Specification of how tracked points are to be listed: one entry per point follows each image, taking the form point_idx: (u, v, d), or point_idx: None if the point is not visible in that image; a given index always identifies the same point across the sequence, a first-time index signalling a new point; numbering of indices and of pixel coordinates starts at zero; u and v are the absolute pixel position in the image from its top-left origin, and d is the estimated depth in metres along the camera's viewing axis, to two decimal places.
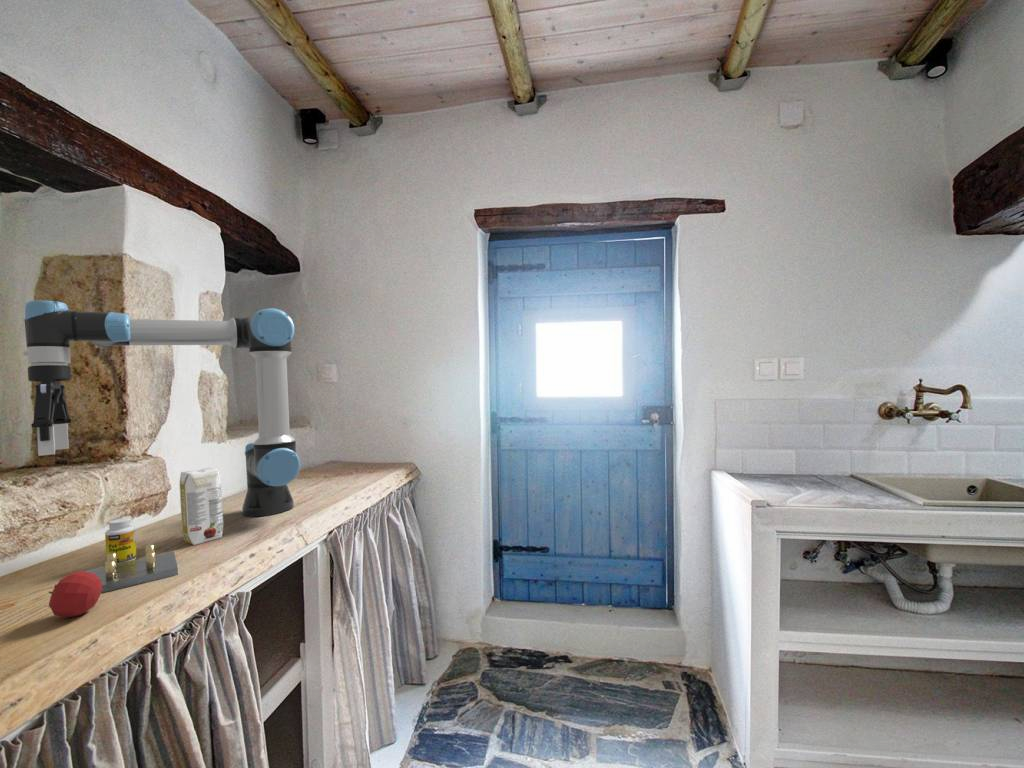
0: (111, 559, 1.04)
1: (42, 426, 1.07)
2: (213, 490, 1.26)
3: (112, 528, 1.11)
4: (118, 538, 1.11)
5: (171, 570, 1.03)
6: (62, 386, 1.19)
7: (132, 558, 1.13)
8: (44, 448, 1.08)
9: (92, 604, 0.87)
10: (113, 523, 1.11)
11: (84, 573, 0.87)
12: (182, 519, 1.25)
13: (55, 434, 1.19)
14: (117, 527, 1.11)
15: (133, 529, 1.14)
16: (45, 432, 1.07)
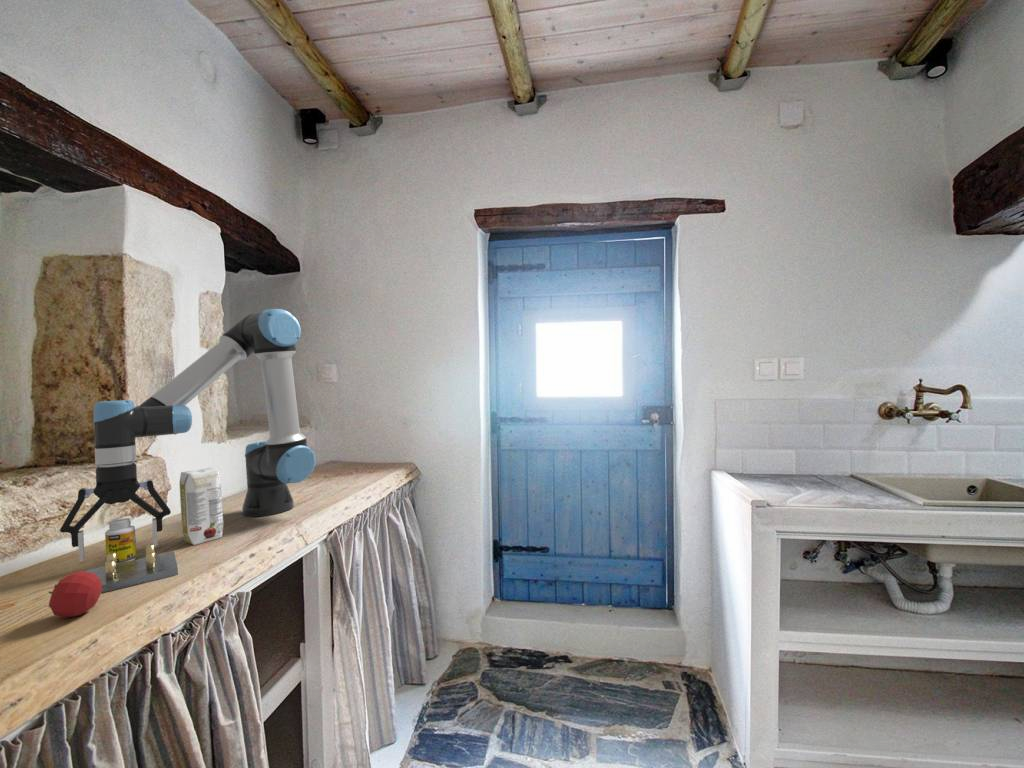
0: (111, 559, 1.04)
1: None
2: (213, 490, 1.26)
3: (112, 528, 1.11)
4: (118, 538, 1.11)
5: (171, 570, 1.03)
6: (147, 482, 1.16)
7: (132, 558, 1.13)
8: None
9: (92, 604, 0.87)
10: (113, 523, 1.11)
11: (84, 573, 0.87)
12: (182, 519, 1.25)
13: None
14: (117, 527, 1.11)
15: (133, 529, 1.14)
16: None
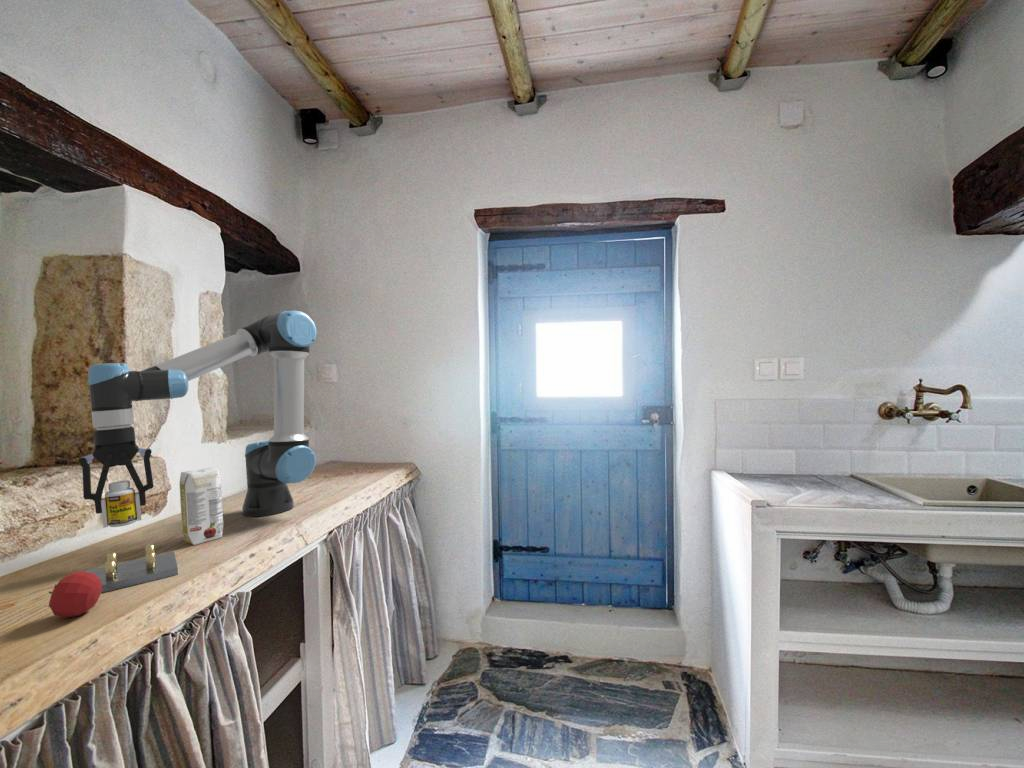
0: (111, 559, 1.04)
1: None
2: (213, 490, 1.26)
3: (112, 490, 1.11)
4: (118, 500, 1.11)
5: (171, 570, 1.03)
6: (147, 450, 1.16)
7: (133, 519, 1.13)
8: None
9: (92, 604, 0.87)
10: (112, 485, 1.11)
11: (84, 573, 0.87)
12: (182, 519, 1.25)
13: None
14: (117, 488, 1.11)
15: (133, 491, 1.14)
16: None
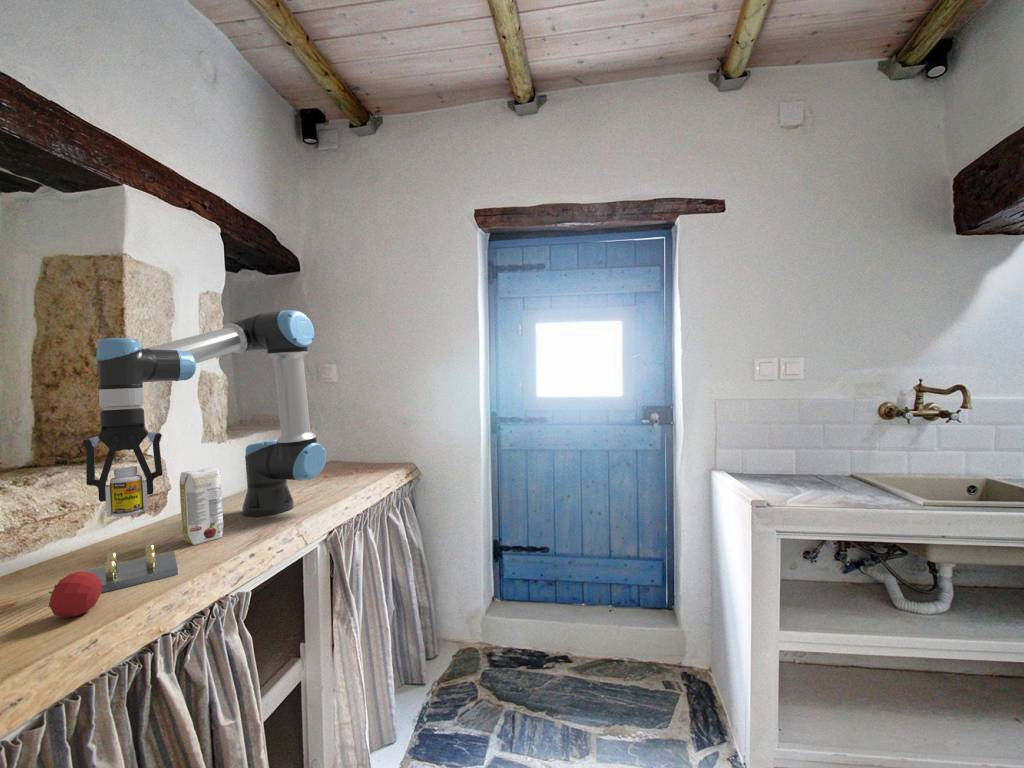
0: (111, 559, 1.04)
1: None
2: (213, 490, 1.26)
3: (117, 475, 1.02)
4: (124, 486, 1.02)
5: (171, 570, 1.03)
6: (156, 434, 1.07)
7: (139, 509, 1.04)
8: None
9: (92, 604, 0.87)
10: (118, 470, 1.02)
11: (84, 573, 0.87)
12: (182, 519, 1.25)
13: None
14: (123, 474, 1.02)
15: (140, 478, 1.05)
16: None
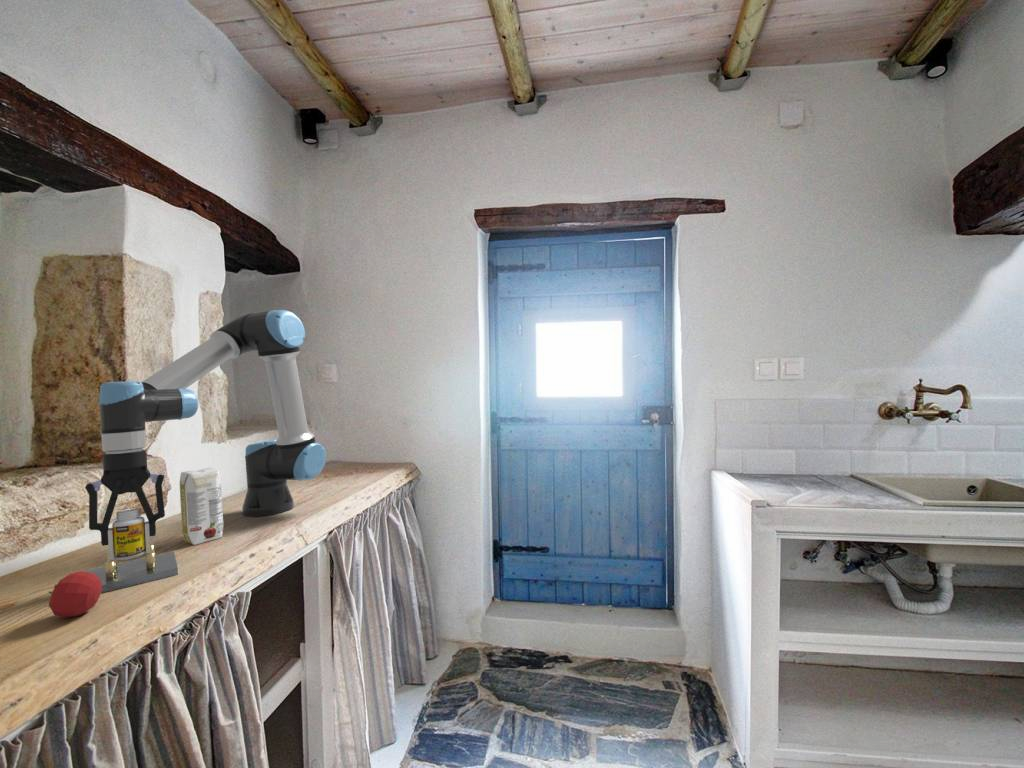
0: None
1: None
2: (213, 490, 1.26)
3: (120, 519, 1.02)
4: (126, 530, 1.02)
5: (171, 570, 1.03)
6: (159, 475, 1.07)
7: (142, 552, 1.04)
8: None
9: (92, 604, 0.87)
10: (121, 513, 1.02)
11: (84, 573, 0.87)
12: (182, 519, 1.25)
13: None
14: (125, 518, 1.02)
15: (142, 520, 1.05)
16: None
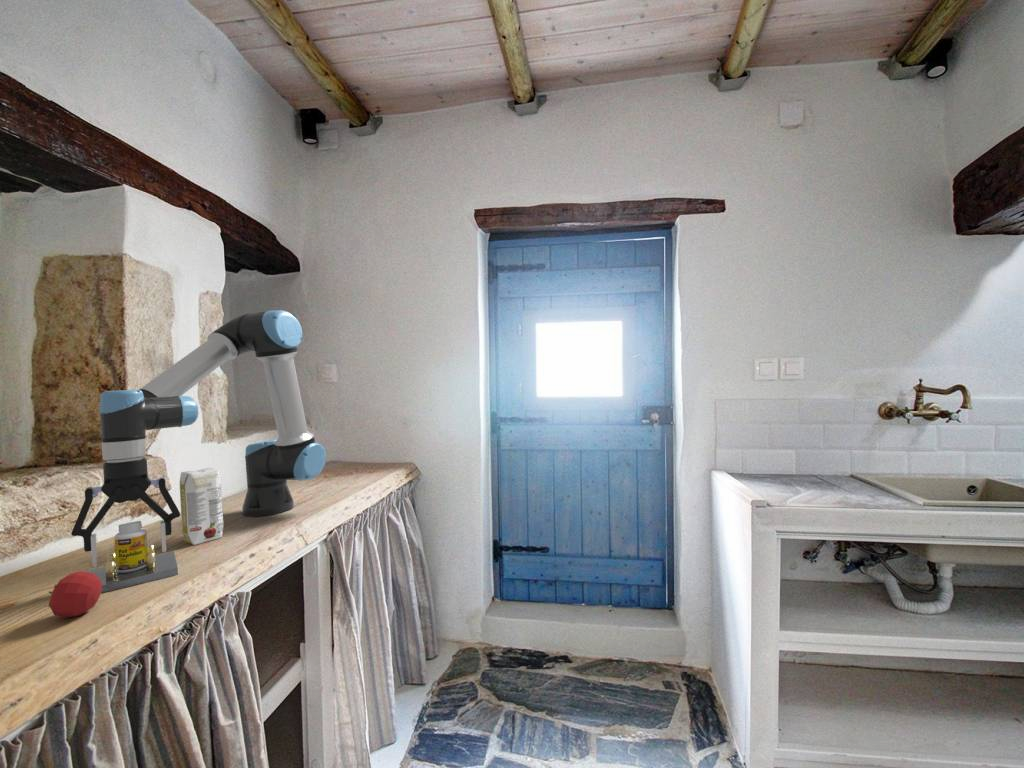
0: (111, 559, 1.04)
1: None
2: (213, 490, 1.26)
3: (122, 532, 1.02)
4: (128, 543, 1.02)
5: (171, 570, 1.03)
6: (159, 480, 1.07)
7: (143, 564, 1.04)
8: None
9: (91, 605, 0.87)
10: (123, 526, 1.02)
11: (84, 573, 0.87)
12: (182, 519, 1.25)
13: None
14: (127, 530, 1.02)
15: (144, 533, 1.05)
16: None
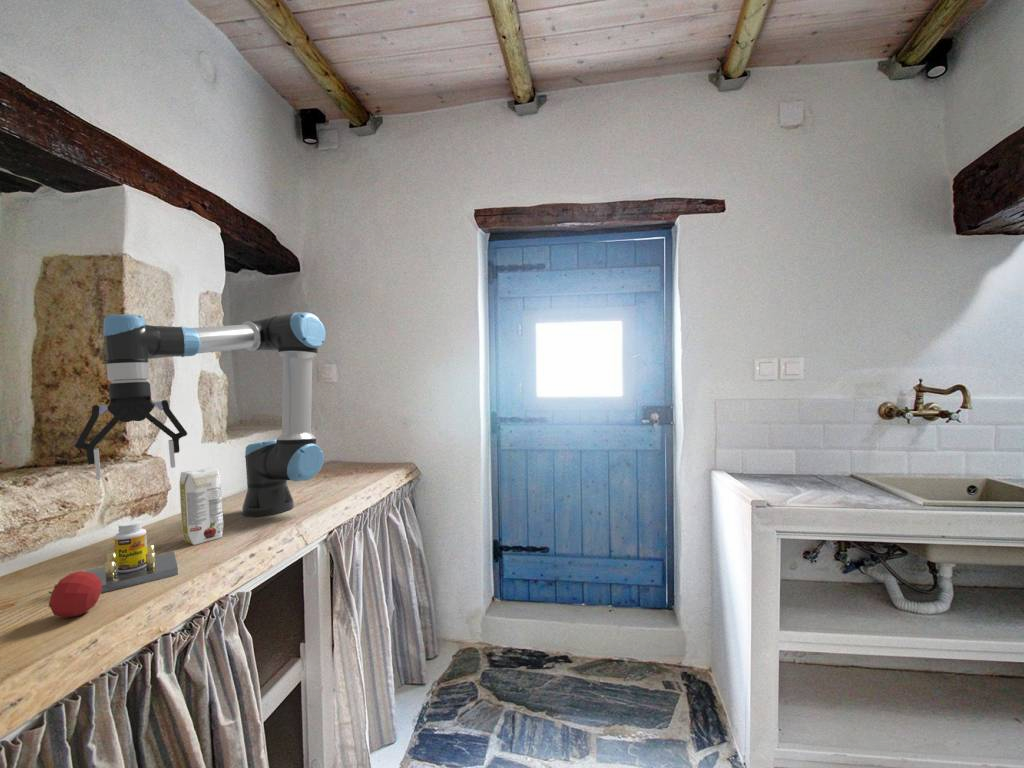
0: (111, 559, 1.04)
1: (85, 449, 1.04)
2: (213, 490, 1.26)
3: (122, 532, 1.02)
4: (128, 543, 1.02)
5: (171, 570, 1.03)
6: (162, 401, 1.12)
7: (143, 564, 1.04)
8: None
9: (91, 604, 0.87)
10: (123, 526, 1.02)
11: (84, 573, 0.87)
12: (182, 519, 1.25)
13: (169, 450, 1.14)
14: (127, 530, 1.02)
15: (144, 533, 1.05)
16: None
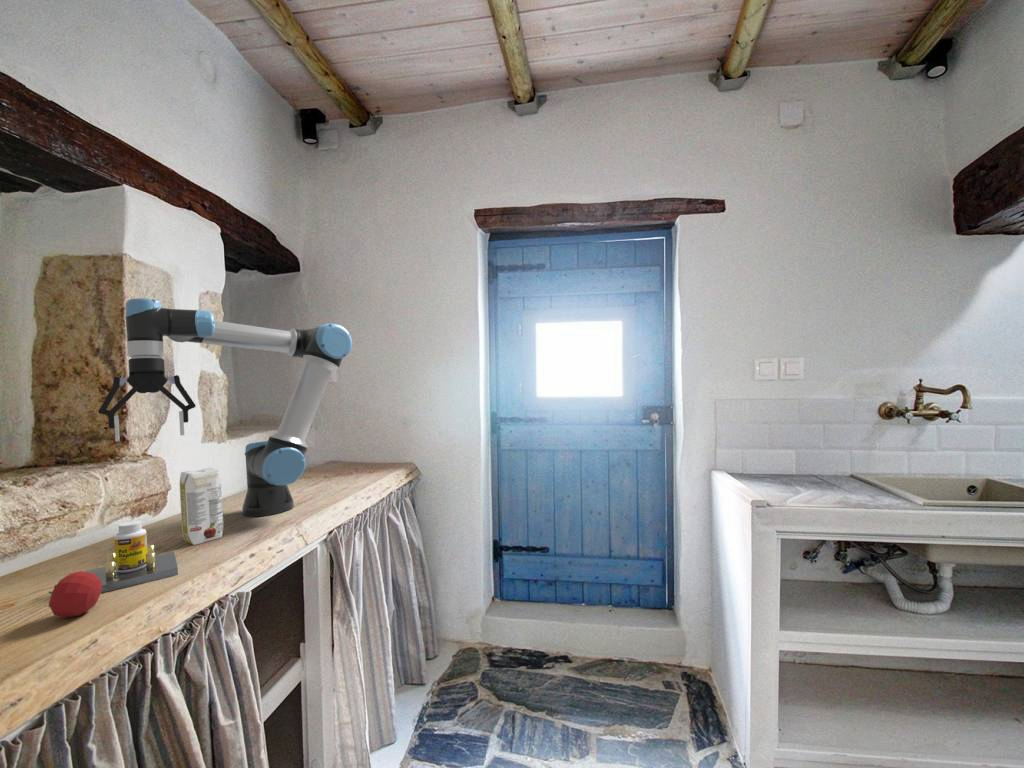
0: (111, 559, 1.04)
1: None
2: (213, 490, 1.26)
3: (122, 532, 1.02)
4: (128, 543, 1.02)
5: (171, 570, 1.03)
6: (174, 376, 1.27)
7: (143, 564, 1.04)
8: None
9: (91, 604, 0.87)
10: (123, 526, 1.02)
11: (84, 573, 0.87)
12: (182, 519, 1.25)
13: None
14: (127, 530, 1.02)
15: (144, 533, 1.05)
16: None
